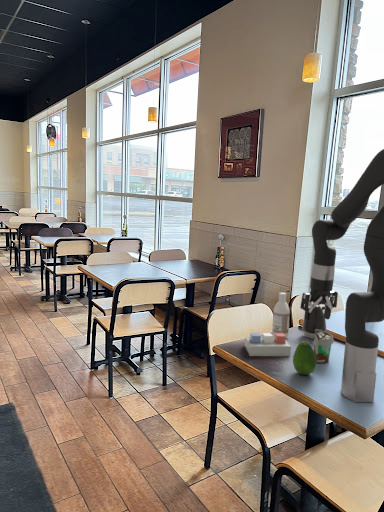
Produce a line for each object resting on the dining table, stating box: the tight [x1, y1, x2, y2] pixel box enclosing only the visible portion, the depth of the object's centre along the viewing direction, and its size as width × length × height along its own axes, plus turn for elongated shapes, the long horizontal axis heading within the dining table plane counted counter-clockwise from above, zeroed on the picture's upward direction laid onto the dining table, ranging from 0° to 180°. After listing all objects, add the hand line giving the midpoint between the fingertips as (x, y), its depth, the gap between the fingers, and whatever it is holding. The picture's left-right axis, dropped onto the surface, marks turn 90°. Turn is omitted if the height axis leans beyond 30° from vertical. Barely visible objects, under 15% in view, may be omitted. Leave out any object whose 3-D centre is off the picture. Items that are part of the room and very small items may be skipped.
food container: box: [313, 329, 334, 365], centre depth 142 cm, size 12×6×10 cm, turn 168°
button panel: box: [244, 336, 292, 357], centre depth 149 cm, size 10×16×4 cm, turn 93°
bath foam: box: [271, 292, 291, 340], centre depth 164 cm, size 7×7×20 cm
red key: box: [274, 333, 287, 344], centre depth 149 cm, size 3×3×4 cm
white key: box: [261, 332, 273, 344], centre depth 149 cm, size 3×3×4 cm
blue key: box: [249, 332, 262, 343], centre depth 148 cm, size 3×3×4 cm
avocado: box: [292, 340, 317, 376], centre depth 129 cm, size 8×8×12 cm
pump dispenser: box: [301, 305, 327, 340], centre depth 164 cm, size 10×10×15 cm
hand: (317, 319), depth 133 cm, fingers open, 8 cm apart
